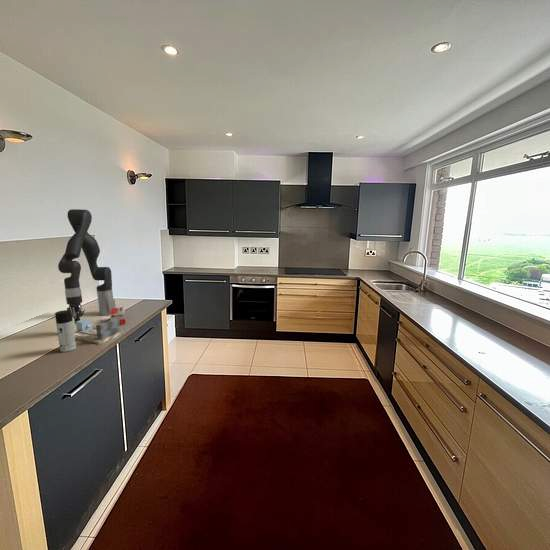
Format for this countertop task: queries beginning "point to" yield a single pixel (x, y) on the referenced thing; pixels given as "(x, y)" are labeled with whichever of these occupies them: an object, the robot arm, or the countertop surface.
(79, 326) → the gauge slider
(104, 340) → the base
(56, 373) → the countertop surface
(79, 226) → the robot arm
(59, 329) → the spray can
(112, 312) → the medicine box
